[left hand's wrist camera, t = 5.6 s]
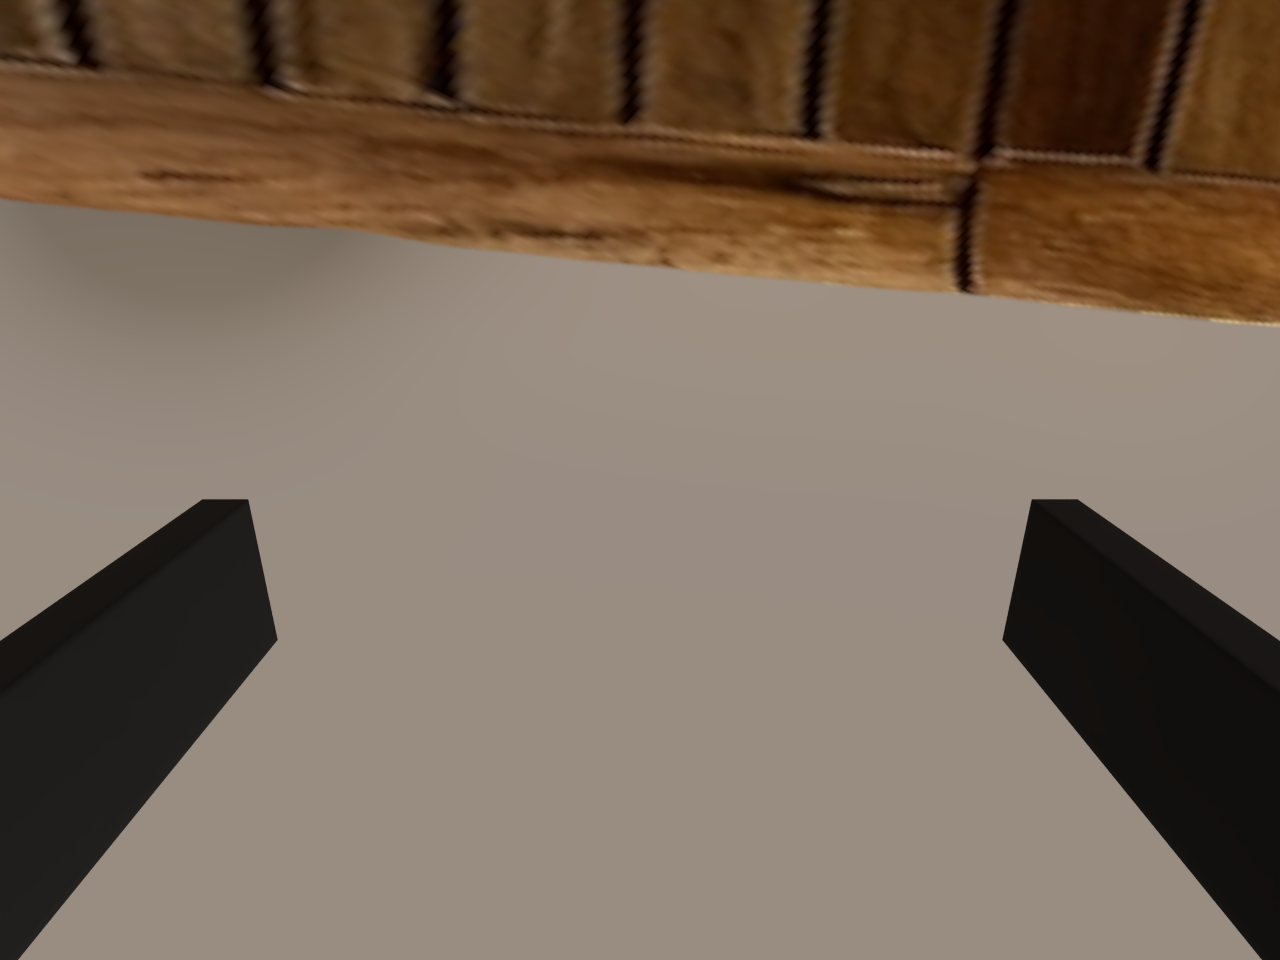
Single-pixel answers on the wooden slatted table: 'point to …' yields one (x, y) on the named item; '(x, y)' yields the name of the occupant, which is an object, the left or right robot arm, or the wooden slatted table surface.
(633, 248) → the wooden slatted table surface
